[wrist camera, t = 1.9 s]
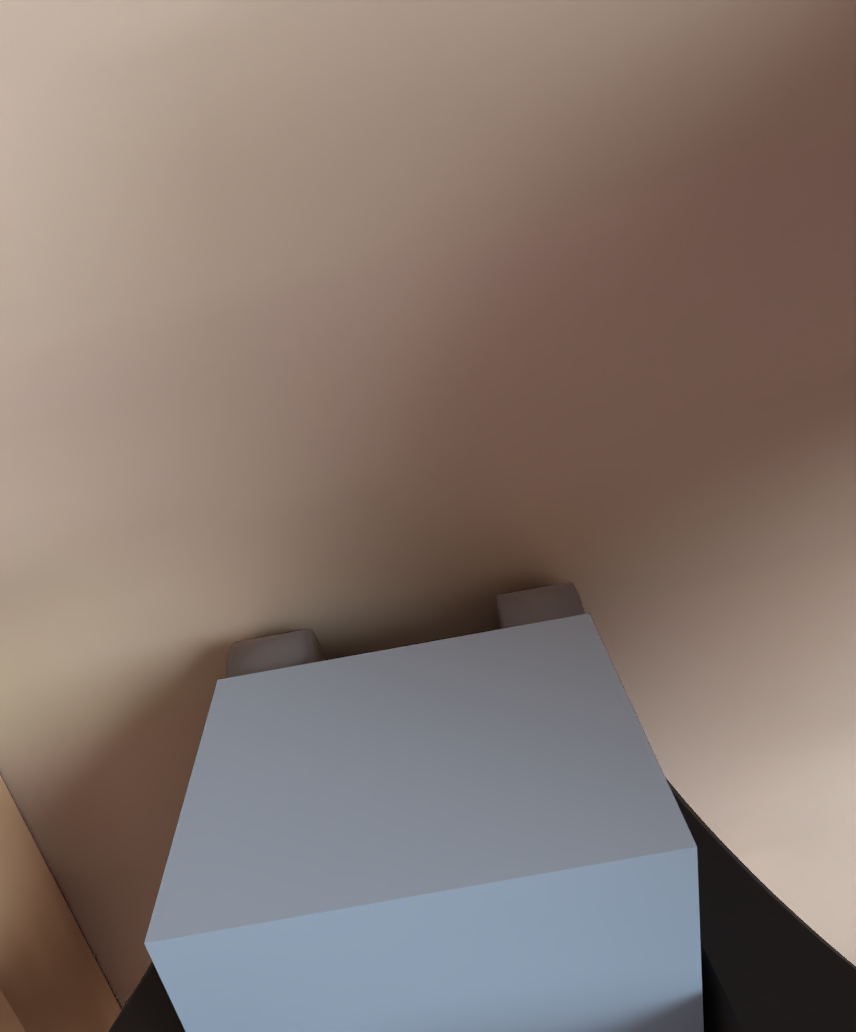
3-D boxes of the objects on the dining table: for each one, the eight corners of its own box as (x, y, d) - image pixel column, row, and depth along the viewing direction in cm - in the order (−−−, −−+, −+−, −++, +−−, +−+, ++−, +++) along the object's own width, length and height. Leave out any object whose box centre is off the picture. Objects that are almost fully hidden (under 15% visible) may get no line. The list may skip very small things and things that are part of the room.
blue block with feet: (600, 899, 14) (712, 1272, 10) (342, 944, 14) (329, 1337, 10) (561, 551, 11) (696, 845, 7) (236, 610, 11) (144, 943, 7)
